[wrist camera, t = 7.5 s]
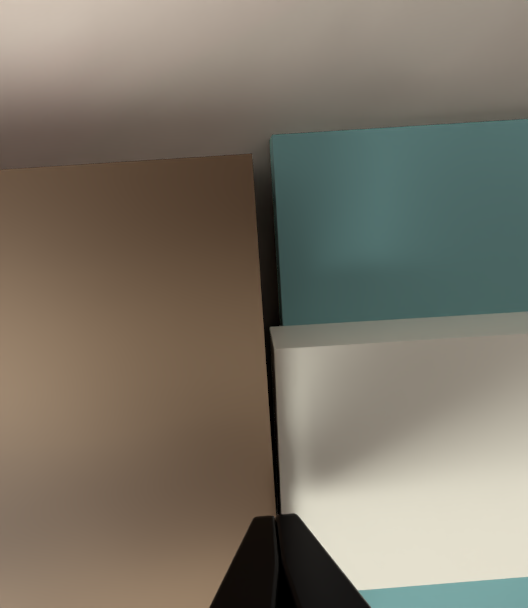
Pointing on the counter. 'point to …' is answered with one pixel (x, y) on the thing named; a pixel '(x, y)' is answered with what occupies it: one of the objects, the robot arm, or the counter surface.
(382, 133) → the teal mat
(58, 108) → the counter surface
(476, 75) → the counter surface
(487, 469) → the cream tile
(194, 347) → the walnut deck
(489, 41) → the counter surface
